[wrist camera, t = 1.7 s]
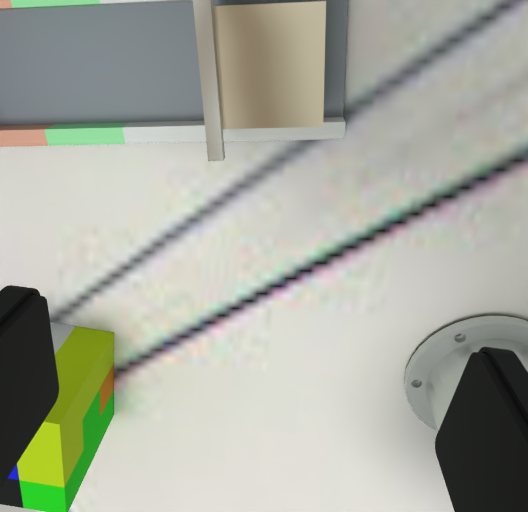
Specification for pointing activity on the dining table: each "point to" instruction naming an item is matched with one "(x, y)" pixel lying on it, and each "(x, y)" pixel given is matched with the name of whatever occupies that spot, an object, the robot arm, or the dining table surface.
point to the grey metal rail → (128, 74)
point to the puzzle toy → (67, 423)
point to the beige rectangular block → (260, 67)
